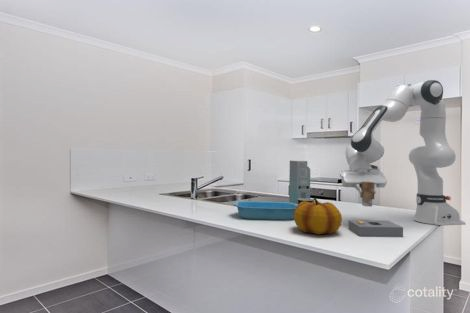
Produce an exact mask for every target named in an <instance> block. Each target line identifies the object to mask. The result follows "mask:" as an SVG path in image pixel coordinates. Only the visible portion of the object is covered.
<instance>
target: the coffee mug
mask: <svg viewBox="0 0 470 313" xmlns="http://www.w3.org/2000/svg"><path fill="white" fill-rule="evenodd" d="M305 201H306V202H310V203H311V202H314V201H315V200H314V198H310V199H308V198H299V199H298V204H299V203H301V202H305Z"/></svg>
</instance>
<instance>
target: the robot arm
mask: <svg viewBox="0 0 470 313" xmlns="http://www.w3.org/2000/svg"><path fill="white" fill-rule="evenodd" d="M443 95H444V87H443V85H442V83H441V82H440V81H439V80H435V79H434V80H433V79H430V80H429V79H428V80H426V81H425V80H424V81H420V82H417V83H415V84H412V85H408V84H407V85H406V84H399V85H397V86H396V87H395V88H394V89H392V91H391V92H390V94H389V95H388V97H387V98H386V99H385V101H384V103H383V104H382V105H379V106H378V107H376V108H375V109H374V110H373V111H372V112H371V114H370V115H369V117H368V118H367V119H366V120H365V121H364V122H363V124H362V126H361V127H360V128H359V129H358V130H357V131H356V132H354V134H353V135H352V136H351V139H350V144H349V145H348V146H346V149H345V152H344V153H345V159H346V162H347V164H348V167H349V168H348V169H349V170H348V169H347V170H345V169H342V170H341V171H339V176H340V178H341V185H342V186H343V187H344V188H354V189H355V190H356V191H357V192H358V193H359V195H360V194H363V193H364V191H363V189H361V188H360V186H361V184H362V182H374V183H375V189H374V195H376V193H377V192H376V189H377V188H378V189H379V188H385V187H386V185H387V183H388V181H387V178H386V176H385V175H384V173H383V172H382V171H381V167H380V166H379V165H375V164H374V165H373V164H372V163H374V162H377V161H379V160H380V159H381V158H382V157H383V156H384V153H385V148H384V146H383V145H382V144H381V143H380V142H379V141H378V140H376V138H374V136H373V133H374V131H375V130H376V129H377V127H378V126H379V125H380V124H381V122H383V121H384V122H388V123H389V122H390V123H395V122H399V121H401V120H402V119H403V118H404V117H405V115H406V113H407V112H408V109H409V108H410V107H414V106H419V107H420V110H421V111H420V116H419V117H420V118H419V135H420V136H421V138H422V139H423V141H424V144H425V145H421V146H418V147H415V148H412V149H411V150H410V152H409V153H408V160H409V162H410V163H411V164H412V165H413V167H414V170H415V173H416V179H417V192H416V200H415V201H416V207H415V208H416V209H415V214H414V217H413V221H415V222H419V223H423V224H427V225H436V226H442V227H443V226H463V225H465V226H466V221H463V220H461V216H460V212H459V211H458V210H457V209H455V207H453V206H451V205H450V204H449V203H448V202H447V201H451V200H452V197H451V196H448V195H444V180H443V178H442V177H441V175H440V174H439V172H438V169H442V168H447V167H450V166H452V165H453V164H454V163H455V161H456V157H457V156H456V153H455V151H454V149H452V147H451V146H450V145H449V143H448V140H447V137H446V117H447V112H446V111H447V110H446V102H445V100H444V99H443ZM437 168H438V169H437Z"/></svg>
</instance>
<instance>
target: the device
mask: <svg viewBox="0 0 470 313" xmlns="http://www.w3.org/2000/svg"><path fill="white" fill-rule="evenodd" d="M288 180H289V181H288V182H289V183H288V184H289V186H288V189H289V191H288V196H289V197H288V203H294V204H298V199H299V198H308V199H311V167H310V166H308V160H289V179H288Z"/></svg>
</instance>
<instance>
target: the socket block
mask: <svg viewBox="0 0 470 313" xmlns="http://www.w3.org/2000/svg"><path fill="white" fill-rule="evenodd" d="M348 230H350V231H352V232H353V233H354V234H356V235H357V236H359V237H370V238H371V237H373V238H374V237H376V238H377V237H381V238H382V237H383V238H385V237H387V238H389V237H390V238H404V226H401V225H398V224H396V223H394V222H392V221H389V220H376V219H374V220H372V219H371V220H369V219H368V220H367V219H366V220H363V219H357V220H356V219H349V220H348Z"/></svg>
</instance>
